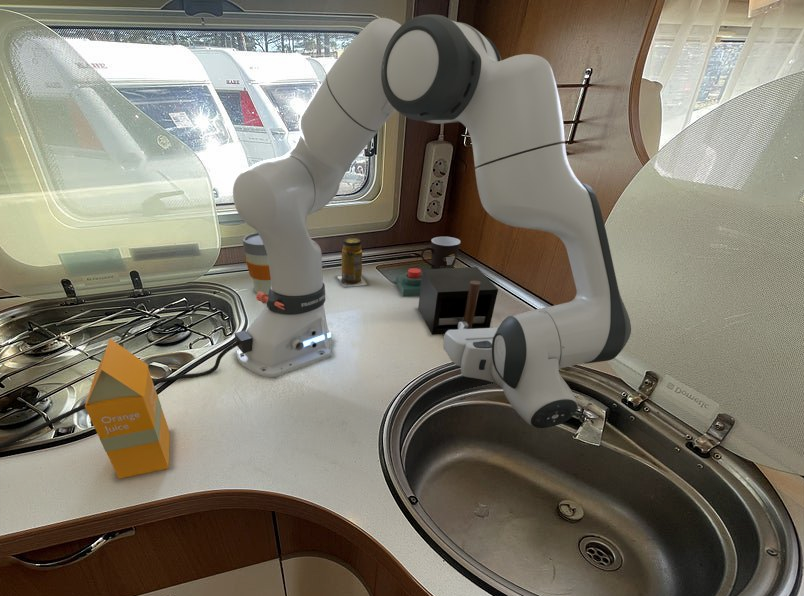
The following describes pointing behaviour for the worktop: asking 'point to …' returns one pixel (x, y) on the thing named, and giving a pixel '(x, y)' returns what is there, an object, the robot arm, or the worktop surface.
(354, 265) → the condiment
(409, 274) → the stop button
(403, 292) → the control box
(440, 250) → the coffee mug
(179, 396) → the worktop surface
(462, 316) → the tray
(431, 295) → the oven
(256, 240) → the reusable coffee cup
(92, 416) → the orange juice
